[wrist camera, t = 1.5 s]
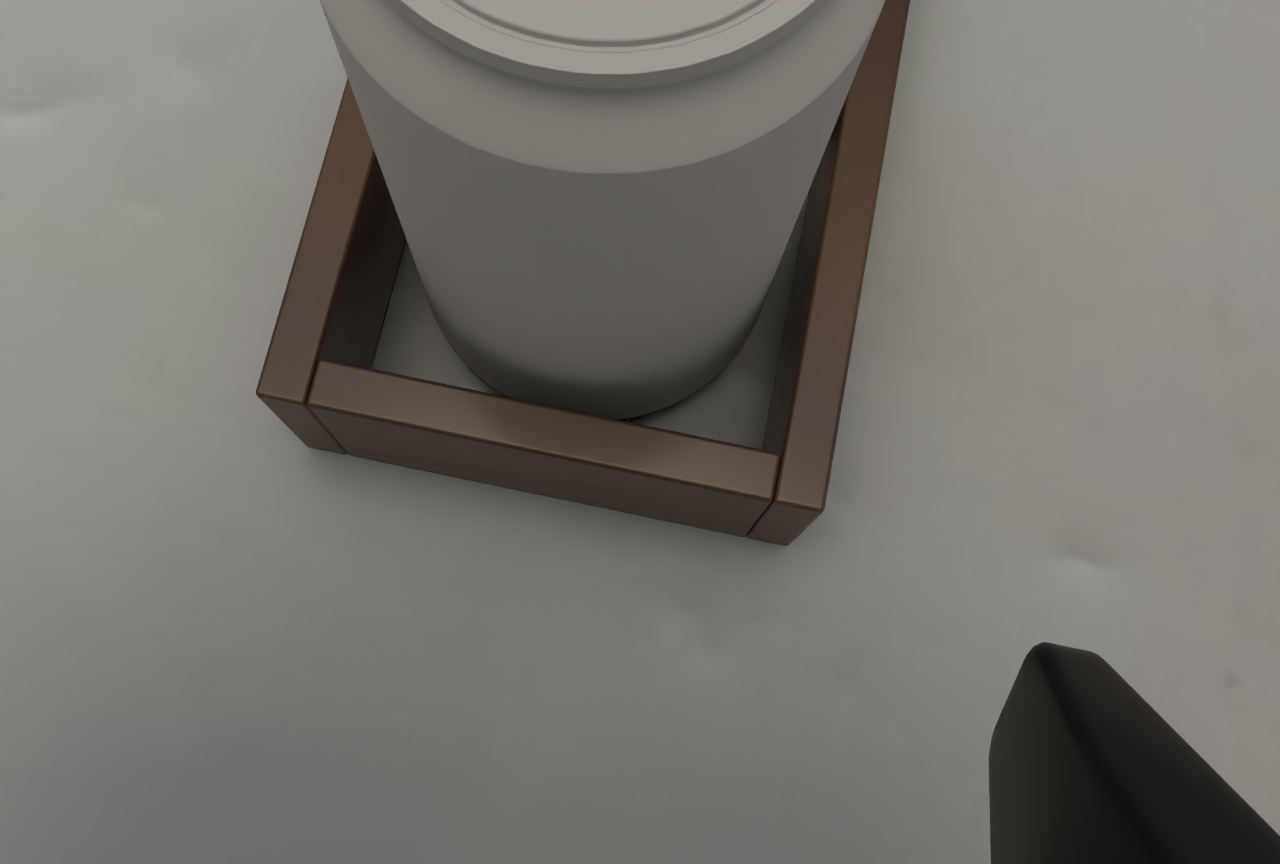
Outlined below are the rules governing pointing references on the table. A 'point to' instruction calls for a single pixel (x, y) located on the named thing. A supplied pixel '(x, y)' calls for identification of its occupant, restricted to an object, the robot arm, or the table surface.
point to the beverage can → (599, 174)
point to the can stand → (564, 439)
